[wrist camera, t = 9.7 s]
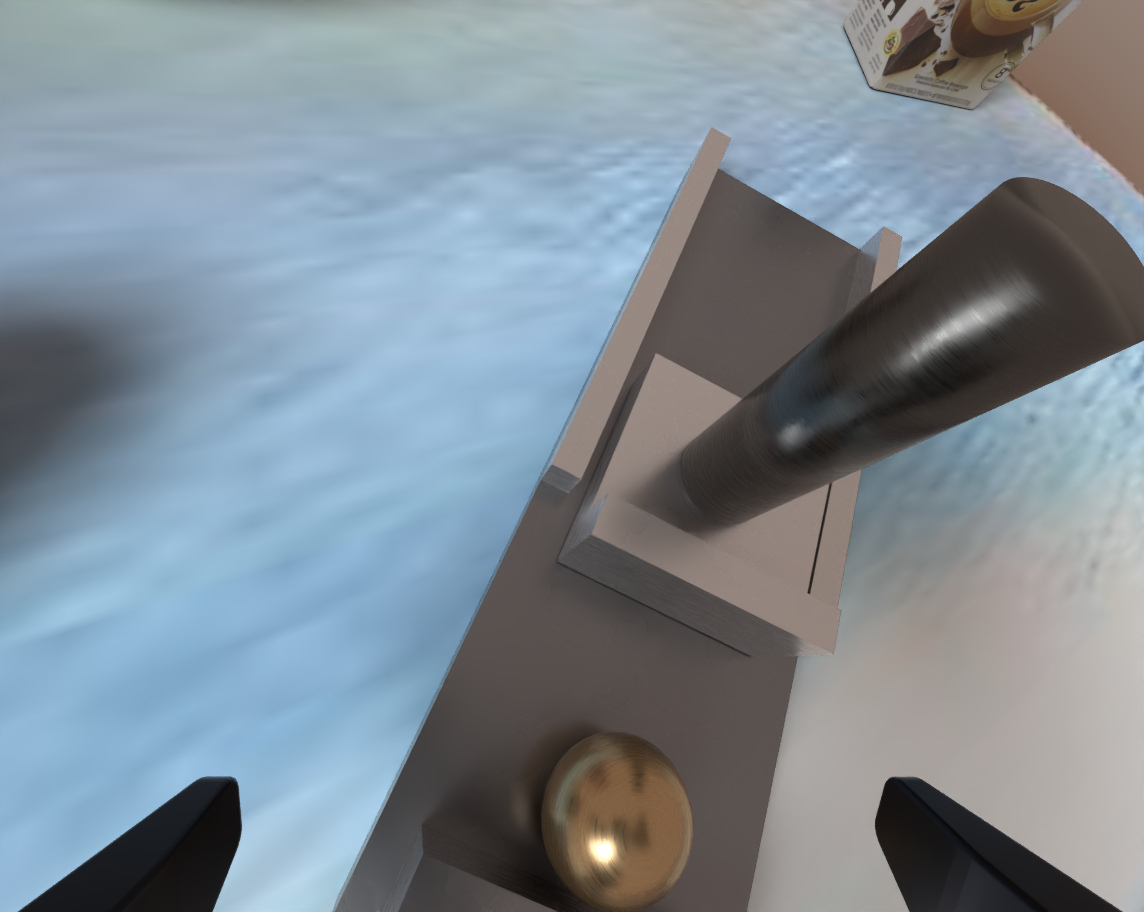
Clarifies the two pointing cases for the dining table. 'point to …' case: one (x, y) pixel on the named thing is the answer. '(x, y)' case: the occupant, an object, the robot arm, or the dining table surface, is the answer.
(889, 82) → the coffee box
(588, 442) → the base
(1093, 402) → the dining table surface
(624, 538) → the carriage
